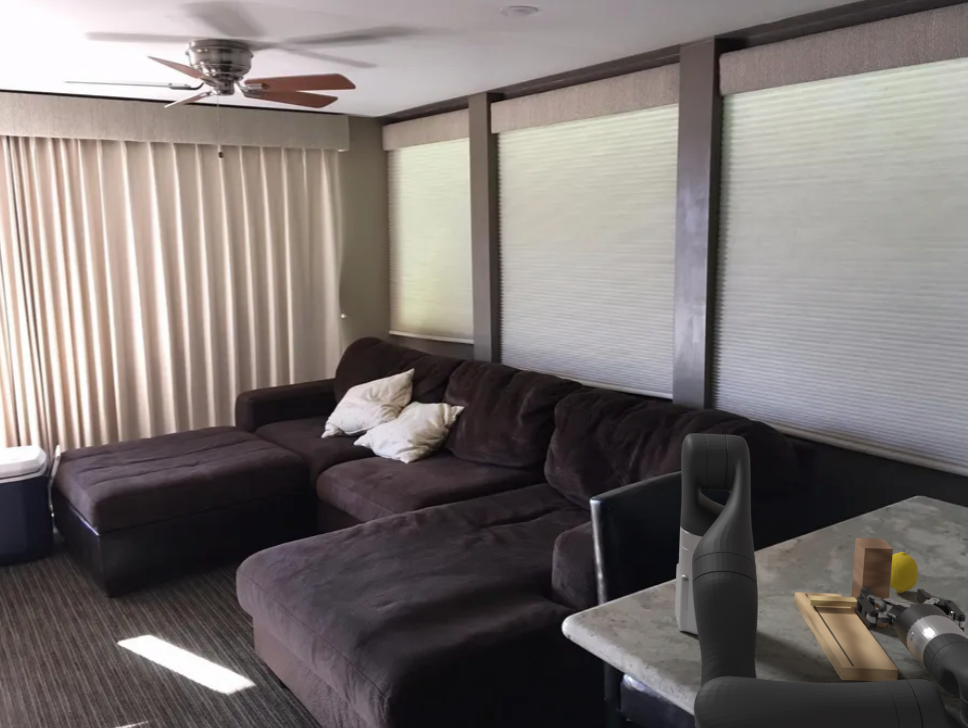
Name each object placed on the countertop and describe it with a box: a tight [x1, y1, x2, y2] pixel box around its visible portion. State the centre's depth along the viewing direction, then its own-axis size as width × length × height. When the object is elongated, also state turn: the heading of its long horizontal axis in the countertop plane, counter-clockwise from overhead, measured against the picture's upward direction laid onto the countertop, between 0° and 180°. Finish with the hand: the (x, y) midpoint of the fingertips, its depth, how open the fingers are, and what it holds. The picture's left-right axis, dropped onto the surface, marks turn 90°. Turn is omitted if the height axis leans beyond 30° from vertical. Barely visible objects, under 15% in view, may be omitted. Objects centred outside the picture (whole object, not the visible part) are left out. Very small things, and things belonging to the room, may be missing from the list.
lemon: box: [890, 551, 919, 594], centre depth 153 cm, size 6×6×8 cm
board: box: [794, 591, 899, 682], centre depth 136 cm, size 8×26×2 cm, turn 174°
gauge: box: [808, 537, 894, 629], centre depth 142 cm, size 12×4×14 cm, turn 84°
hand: (891, 593), depth 134 cm, fingers open, 8 cm apart
